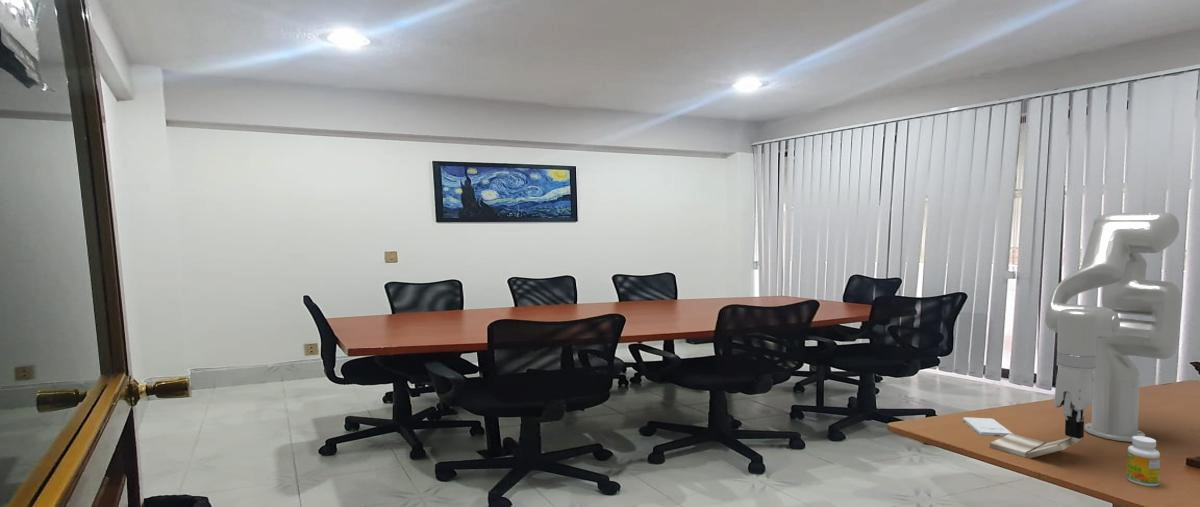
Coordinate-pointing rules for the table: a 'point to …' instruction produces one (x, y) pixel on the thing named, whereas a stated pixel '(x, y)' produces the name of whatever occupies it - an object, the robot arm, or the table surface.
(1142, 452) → the supplement bottle
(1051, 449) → the plank
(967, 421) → the external hard drive
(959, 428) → the table surface
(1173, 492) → the table surface
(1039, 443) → the laid board
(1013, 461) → the table surface
